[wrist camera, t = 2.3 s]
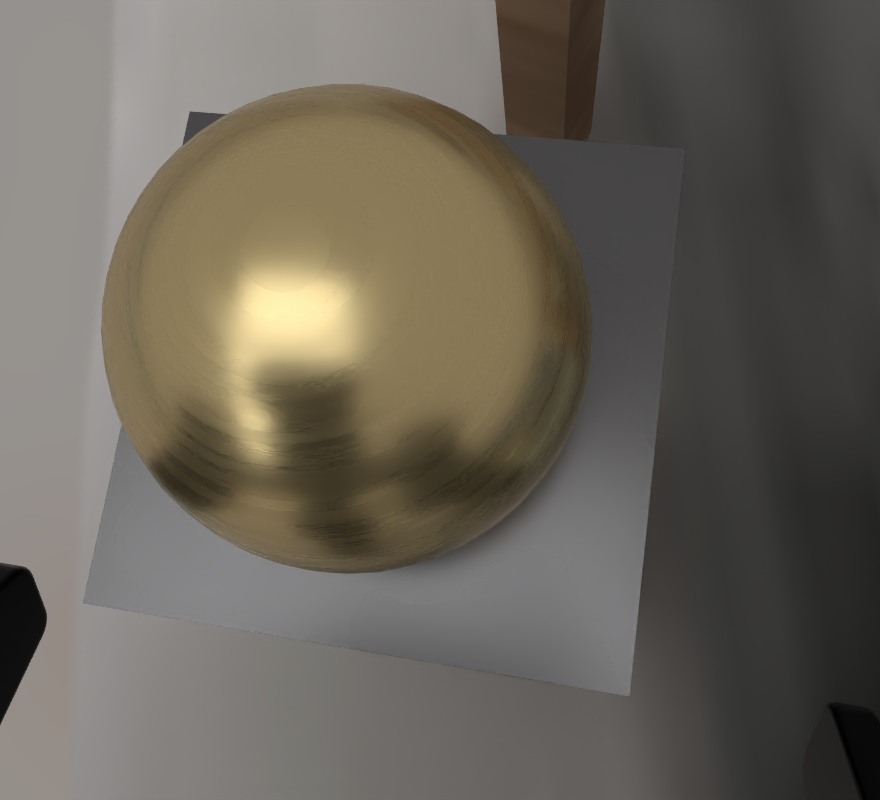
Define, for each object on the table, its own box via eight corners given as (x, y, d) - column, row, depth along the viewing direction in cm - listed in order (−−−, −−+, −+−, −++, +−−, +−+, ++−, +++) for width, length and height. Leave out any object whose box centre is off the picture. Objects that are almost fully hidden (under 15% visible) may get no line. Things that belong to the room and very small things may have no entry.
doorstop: (599, 643, 19) (897, 1069, 3) (354, 603, 20) (-421, 772, 4) (626, 396, 21) (956, -259, 4) (391, 368, 21) (-98, -263, 5)
